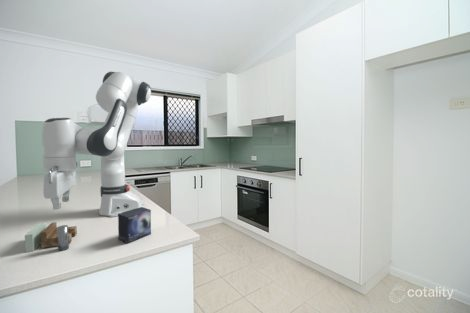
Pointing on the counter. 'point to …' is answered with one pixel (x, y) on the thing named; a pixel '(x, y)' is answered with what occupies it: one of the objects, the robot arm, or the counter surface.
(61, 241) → the dowel
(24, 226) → the counter surface
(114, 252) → the counter surface
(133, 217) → the small box
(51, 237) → the block
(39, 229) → the wall
